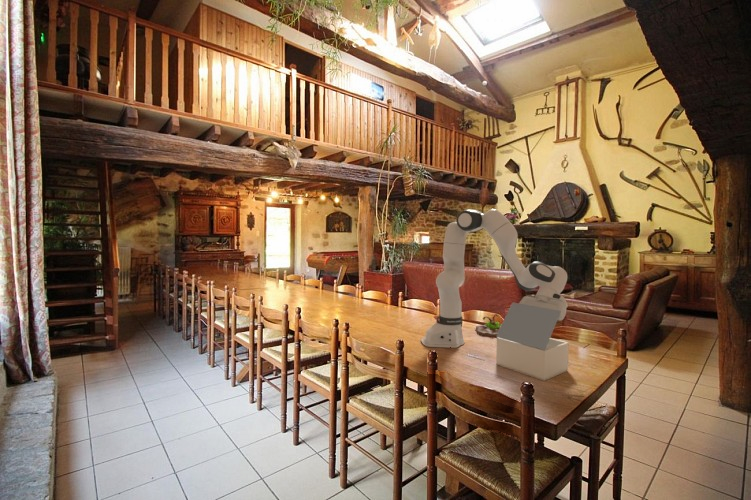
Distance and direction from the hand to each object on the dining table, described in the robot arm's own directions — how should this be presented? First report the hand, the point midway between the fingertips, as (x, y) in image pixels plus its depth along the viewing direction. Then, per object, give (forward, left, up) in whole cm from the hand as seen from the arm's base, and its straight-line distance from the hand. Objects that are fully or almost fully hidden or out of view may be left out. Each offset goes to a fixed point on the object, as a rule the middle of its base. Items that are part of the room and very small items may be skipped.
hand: (533, 322), depth 154 cm
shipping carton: (-1, -1, -19) cm, 19 cm away
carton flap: (-4, -2, 0) cm, 5 cm away
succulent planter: (+5, +53, -20) cm, 57 cm away
